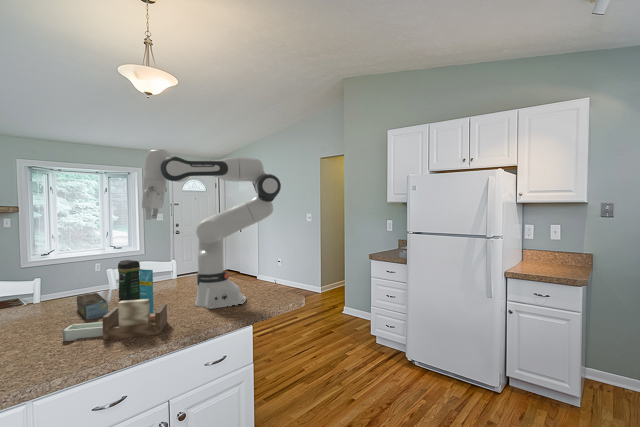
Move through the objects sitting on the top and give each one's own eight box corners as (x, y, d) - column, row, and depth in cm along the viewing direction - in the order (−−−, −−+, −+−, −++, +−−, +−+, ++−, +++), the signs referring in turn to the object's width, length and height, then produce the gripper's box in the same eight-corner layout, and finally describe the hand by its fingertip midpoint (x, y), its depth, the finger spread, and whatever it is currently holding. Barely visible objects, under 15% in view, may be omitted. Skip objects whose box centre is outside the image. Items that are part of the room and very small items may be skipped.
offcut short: (157, 318, 122) (157, 312, 122) (155, 322, 119) (155, 315, 119) (140, 320, 121) (140, 314, 121) (138, 323, 117) (138, 317, 117)
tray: (111, 330, 118) (111, 321, 118) (105, 337, 112) (104, 327, 112) (71, 334, 115) (71, 324, 115) (63, 341, 109) (62, 330, 109)
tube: (135, 317, 132) (133, 269, 132) (144, 313, 137) (143, 267, 136) (149, 319, 130) (148, 270, 129) (159, 315, 135) (158, 268, 134)
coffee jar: (143, 297, 161) (142, 259, 160) (127, 301, 154) (126, 262, 153) (132, 295, 165) (131, 258, 165) (115, 299, 158) (114, 260, 158)
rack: (167, 324, 124) (166, 303, 124) (160, 335, 113) (160, 312, 113) (115, 328, 120) (114, 307, 120) (103, 341, 109) (102, 317, 109)
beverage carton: (85, 320, 129) (84, 304, 129) (76, 310, 143) (75, 295, 143) (108, 315, 135) (108, 299, 135) (98, 306, 149) (97, 291, 148)
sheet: (150, 332, 116) (149, 298, 116) (148, 335, 114) (147, 300, 114) (121, 335, 114) (120, 300, 114) (119, 338, 112) (118, 303, 111)
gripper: (156, 186, 133) (153, 220, 133) (167, 188, 153) (164, 218, 153) (139, 185, 131) (136, 219, 132) (152, 187, 151) (149, 217, 152)
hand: (151, 218), depth 142 cm, fingers open, 8 cm apart
